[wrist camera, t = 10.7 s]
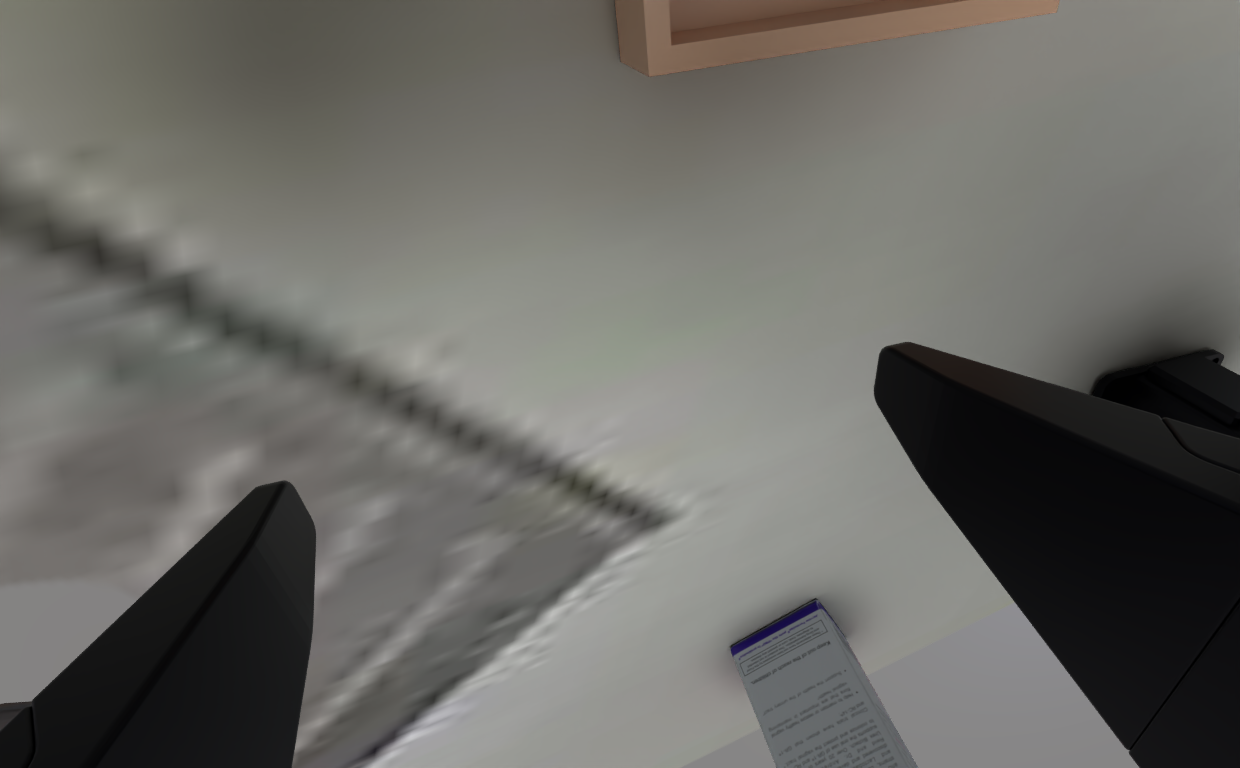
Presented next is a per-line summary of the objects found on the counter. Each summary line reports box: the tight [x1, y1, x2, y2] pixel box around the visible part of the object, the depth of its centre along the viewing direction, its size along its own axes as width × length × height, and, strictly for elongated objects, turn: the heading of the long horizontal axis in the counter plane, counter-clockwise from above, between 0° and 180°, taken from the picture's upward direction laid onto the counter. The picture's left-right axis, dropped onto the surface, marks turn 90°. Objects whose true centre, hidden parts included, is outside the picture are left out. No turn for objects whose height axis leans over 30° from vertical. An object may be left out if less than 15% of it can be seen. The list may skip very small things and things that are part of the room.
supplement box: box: [731, 600, 918, 768], centre depth 32 cm, size 6×6×12 cm
